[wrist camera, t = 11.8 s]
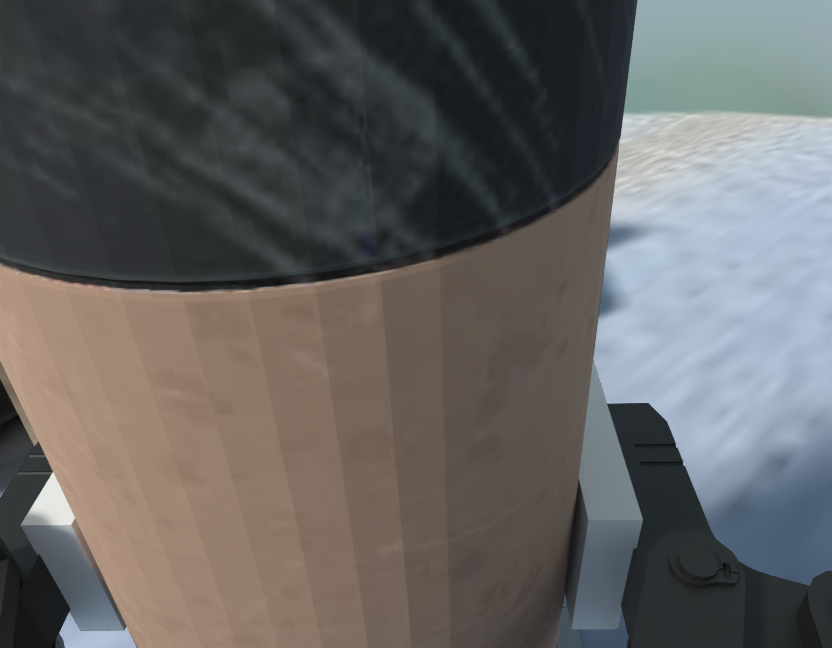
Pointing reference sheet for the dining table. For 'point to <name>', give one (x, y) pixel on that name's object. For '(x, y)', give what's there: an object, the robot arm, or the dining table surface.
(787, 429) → the dining table surface
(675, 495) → the robot arm
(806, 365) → the dining table surface
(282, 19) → the travel mug
